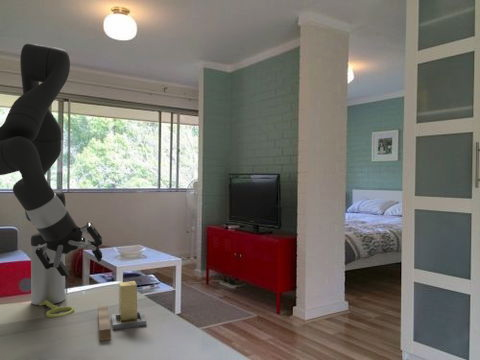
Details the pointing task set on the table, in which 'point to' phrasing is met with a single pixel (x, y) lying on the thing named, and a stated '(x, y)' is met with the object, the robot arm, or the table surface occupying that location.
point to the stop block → (127, 301)
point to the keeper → (128, 324)
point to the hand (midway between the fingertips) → (83, 267)
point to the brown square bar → (104, 323)
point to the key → (56, 309)
